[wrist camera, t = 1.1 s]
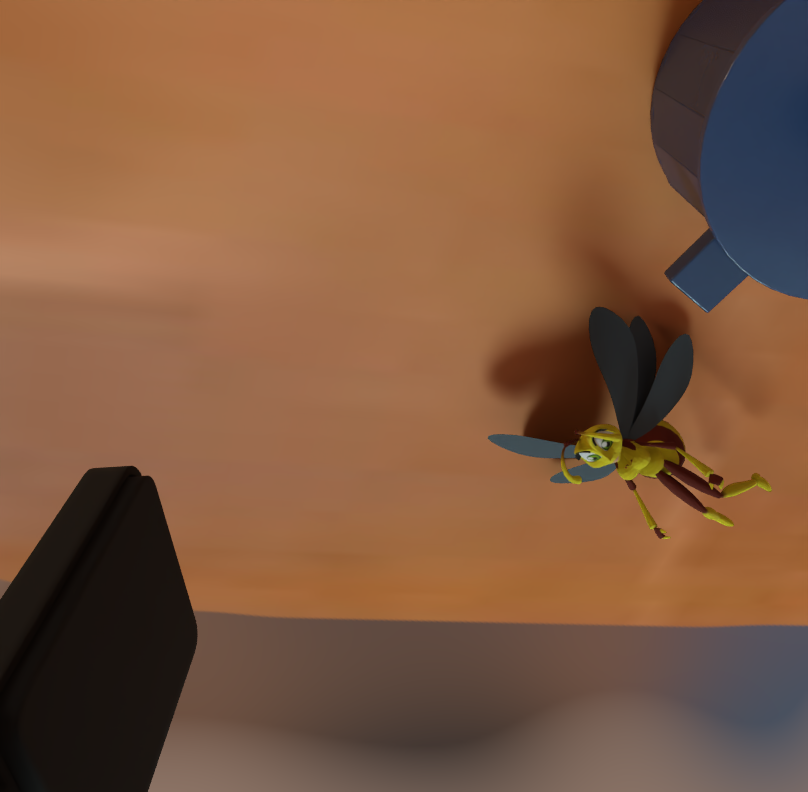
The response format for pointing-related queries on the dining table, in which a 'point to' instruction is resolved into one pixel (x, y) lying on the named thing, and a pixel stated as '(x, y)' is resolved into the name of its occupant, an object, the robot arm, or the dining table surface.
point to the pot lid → (761, 152)
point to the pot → (698, 130)
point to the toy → (635, 420)
